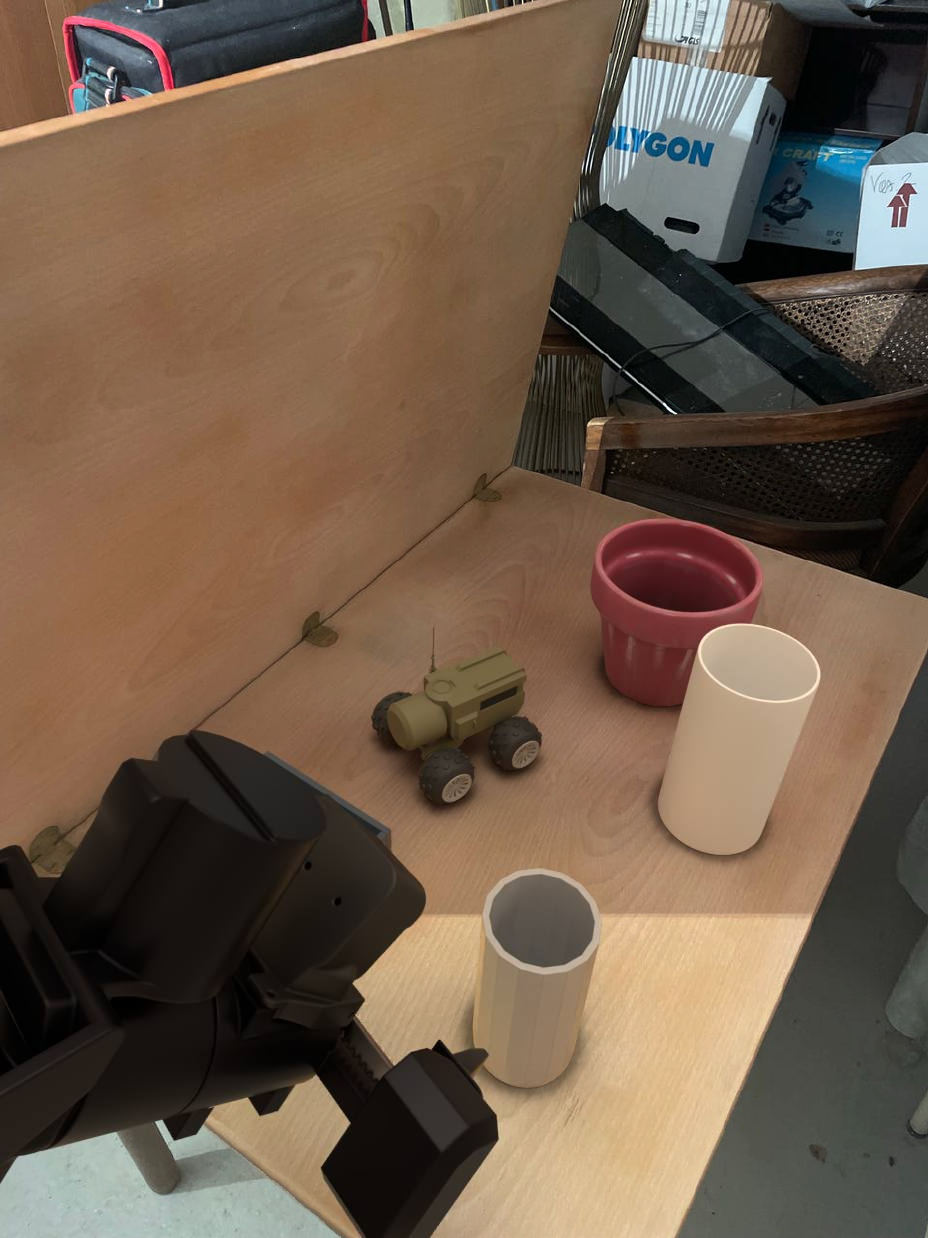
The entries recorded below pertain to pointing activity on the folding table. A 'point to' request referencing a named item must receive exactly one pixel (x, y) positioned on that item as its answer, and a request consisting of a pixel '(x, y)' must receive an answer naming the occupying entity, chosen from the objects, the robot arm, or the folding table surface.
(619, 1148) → the folding table surface
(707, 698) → the cup
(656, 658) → the flower pot
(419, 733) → the toy vehicle
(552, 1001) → the tumbler
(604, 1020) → the folding table surface
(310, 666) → the folding table surface
